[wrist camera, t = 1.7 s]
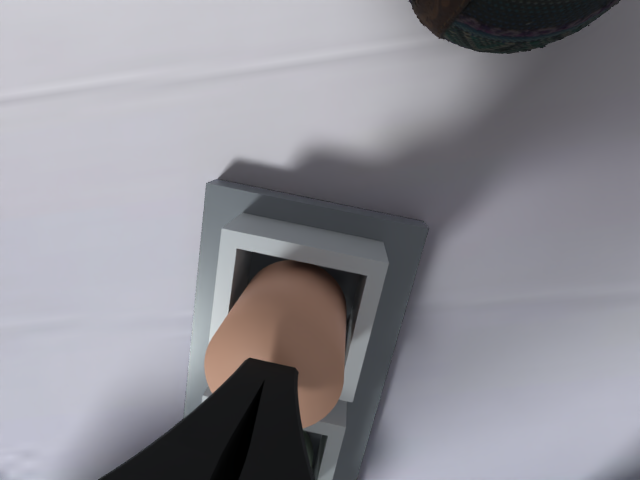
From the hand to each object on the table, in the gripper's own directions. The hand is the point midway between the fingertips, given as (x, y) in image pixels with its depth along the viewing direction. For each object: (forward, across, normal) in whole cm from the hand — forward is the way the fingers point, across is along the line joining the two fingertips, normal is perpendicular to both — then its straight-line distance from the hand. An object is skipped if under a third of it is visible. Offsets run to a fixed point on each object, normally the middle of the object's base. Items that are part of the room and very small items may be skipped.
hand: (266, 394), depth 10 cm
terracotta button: (+5, 0, 0) cm, 5 cm away
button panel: (+8, 0, +7) cm, 10 cm away
